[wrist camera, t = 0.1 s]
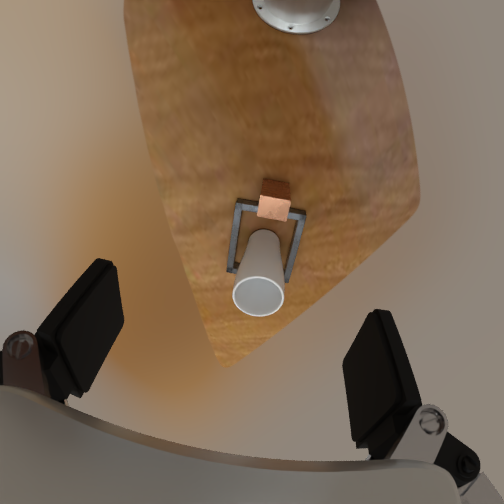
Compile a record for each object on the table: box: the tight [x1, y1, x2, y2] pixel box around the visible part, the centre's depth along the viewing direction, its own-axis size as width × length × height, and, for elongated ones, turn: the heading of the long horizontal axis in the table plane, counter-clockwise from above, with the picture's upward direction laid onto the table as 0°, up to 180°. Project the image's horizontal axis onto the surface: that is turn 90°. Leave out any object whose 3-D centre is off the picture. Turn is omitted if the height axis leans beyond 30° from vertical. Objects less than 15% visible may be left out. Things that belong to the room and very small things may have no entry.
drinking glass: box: [232, 229, 285, 316], centre depth 44 cm, size 7×7×15 cm
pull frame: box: [226, 179, 306, 283], centre depth 45 cm, size 17×11×8 cm, turn 171°
